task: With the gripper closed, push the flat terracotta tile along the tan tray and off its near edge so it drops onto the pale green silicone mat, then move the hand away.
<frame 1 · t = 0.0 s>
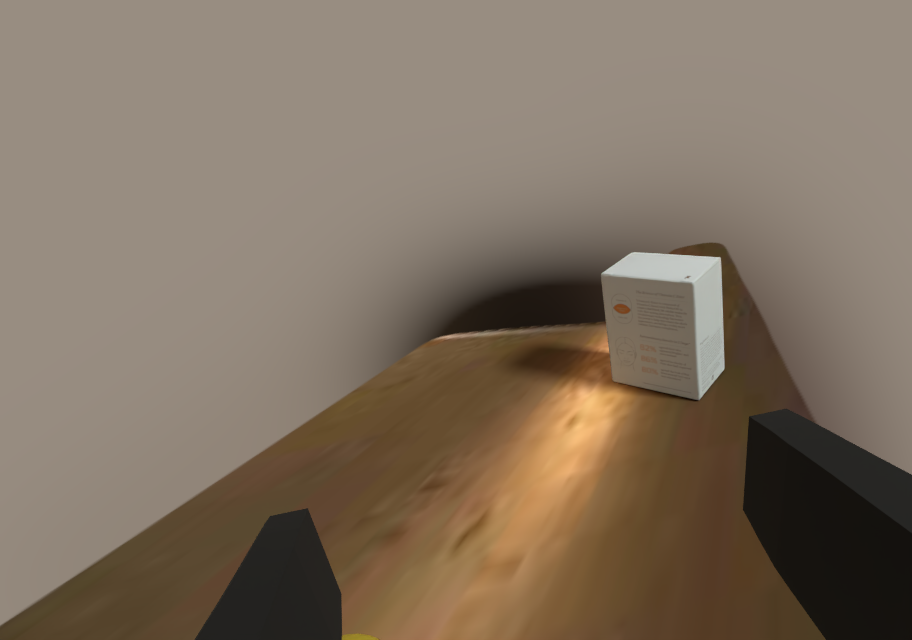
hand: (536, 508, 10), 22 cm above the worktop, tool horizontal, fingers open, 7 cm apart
small box: (667, 378, 54), on the worktop
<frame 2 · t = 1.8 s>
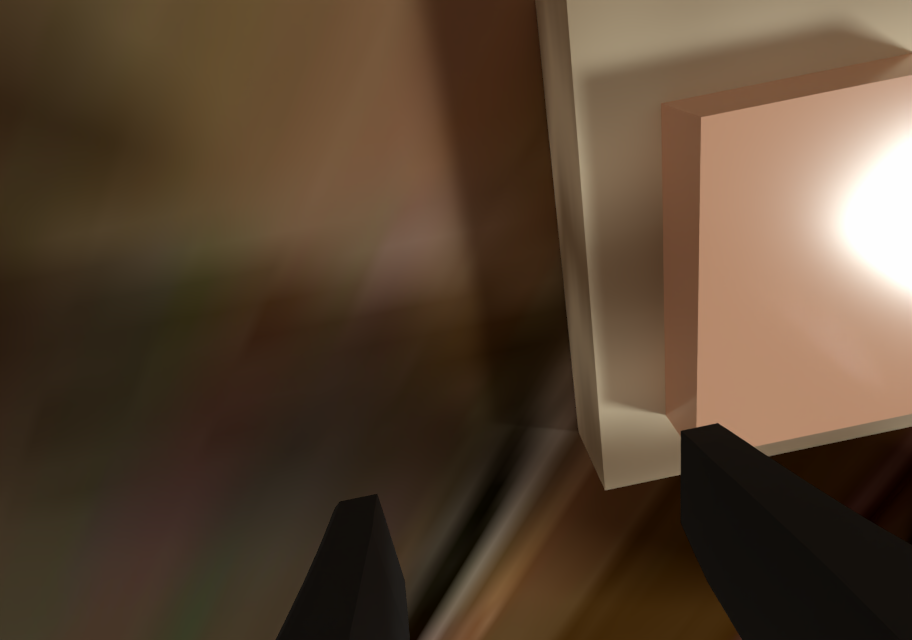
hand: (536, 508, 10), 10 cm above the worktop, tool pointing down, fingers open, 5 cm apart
tile: (774, 256, 16), point 3 cm above the worktop, touching tan tray
tan tray: (750, 215, 19), on the worktop
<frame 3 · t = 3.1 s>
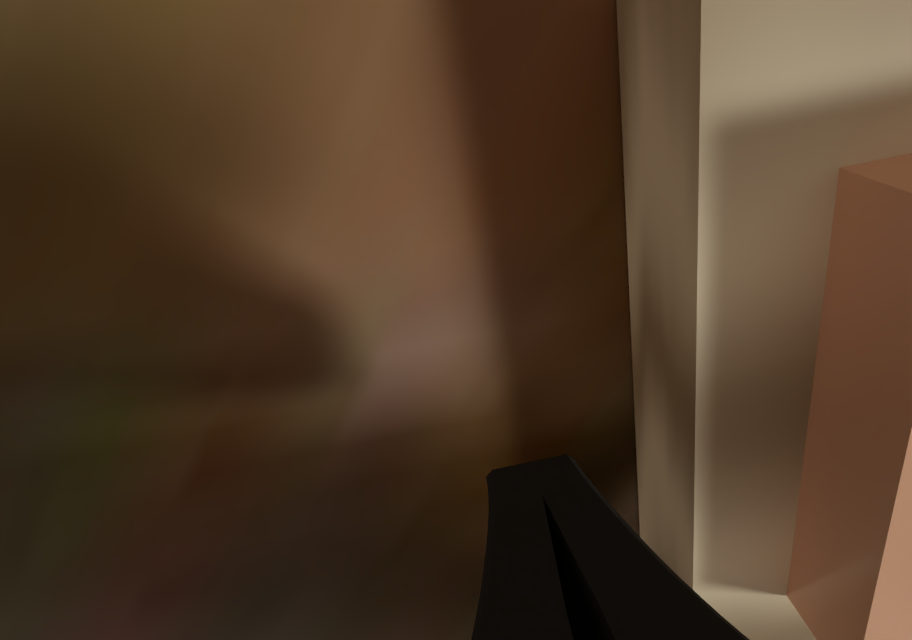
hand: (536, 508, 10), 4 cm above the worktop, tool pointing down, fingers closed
tan tray: (901, 303, 13), on the worktop
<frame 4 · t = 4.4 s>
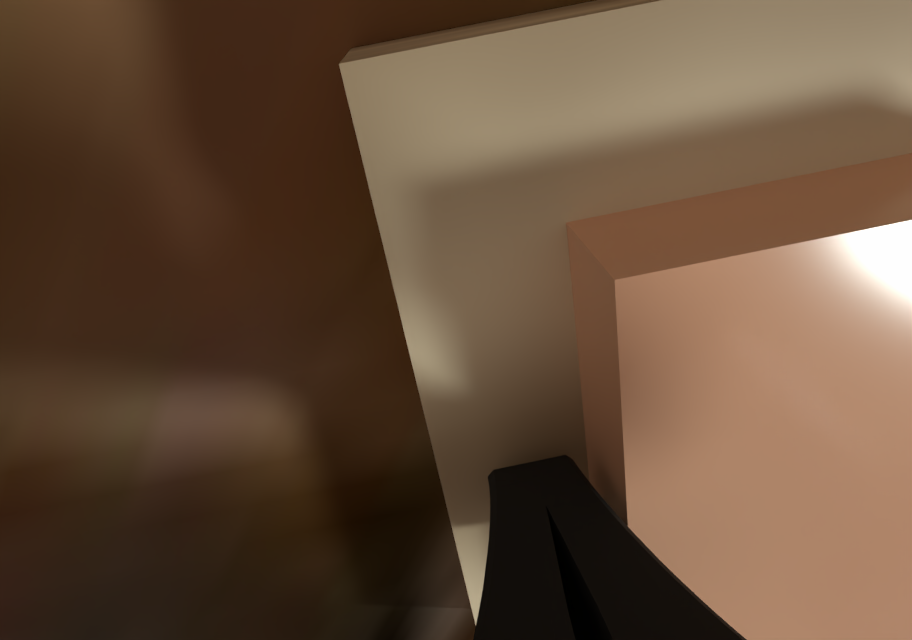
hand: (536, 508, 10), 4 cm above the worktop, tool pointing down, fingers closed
tile: (758, 434, 10), point 3 cm above the worktop, touching tan tray, gripper
tan tray: (705, 343, 13), on the worktop
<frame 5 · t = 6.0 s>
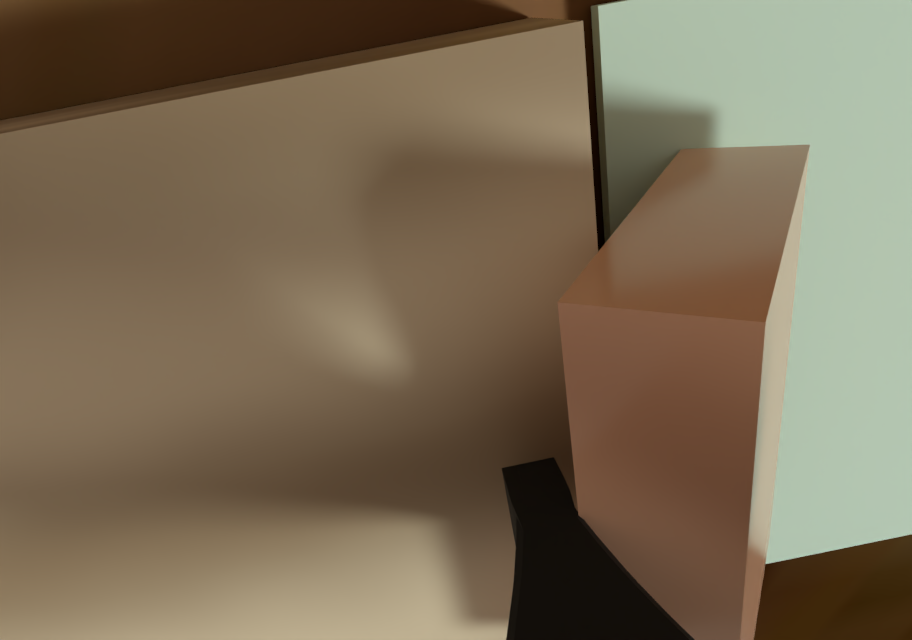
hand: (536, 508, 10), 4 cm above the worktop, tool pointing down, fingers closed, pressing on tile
tile: (642, 450, 11), point 3 cm above the worktop, tilted 54°, touching gripper, mat
tan tray: (295, 426, 13), on the worktop
mat: (835, 317, 13), on the worktop
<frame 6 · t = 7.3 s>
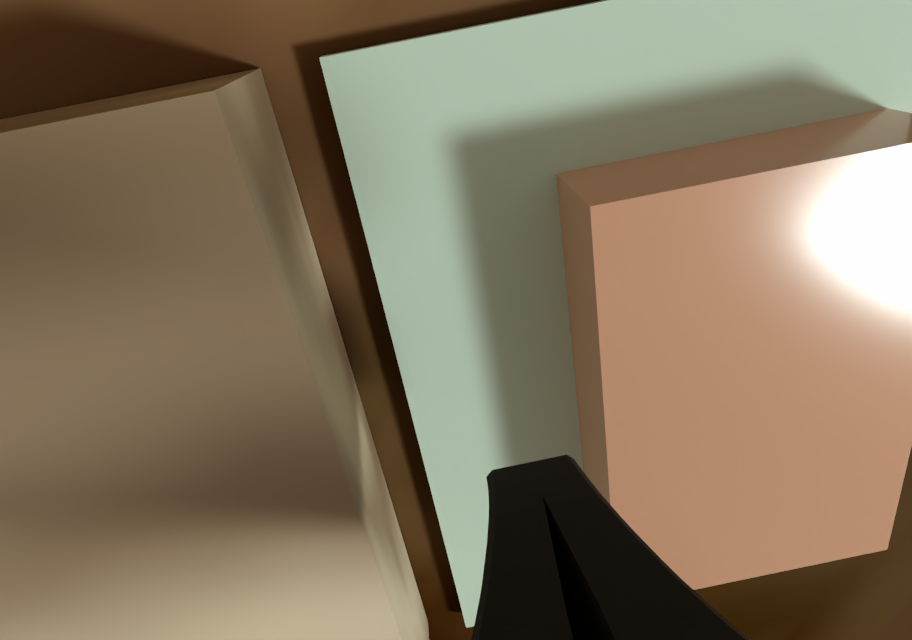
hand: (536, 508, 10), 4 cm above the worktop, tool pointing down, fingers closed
tile: (767, 411, 11), point 2 cm above the worktop, tilted 180°, touching mat
tan tray: (89, 470, 13), on the worktop
mat: (637, 357, 13), on the worktop
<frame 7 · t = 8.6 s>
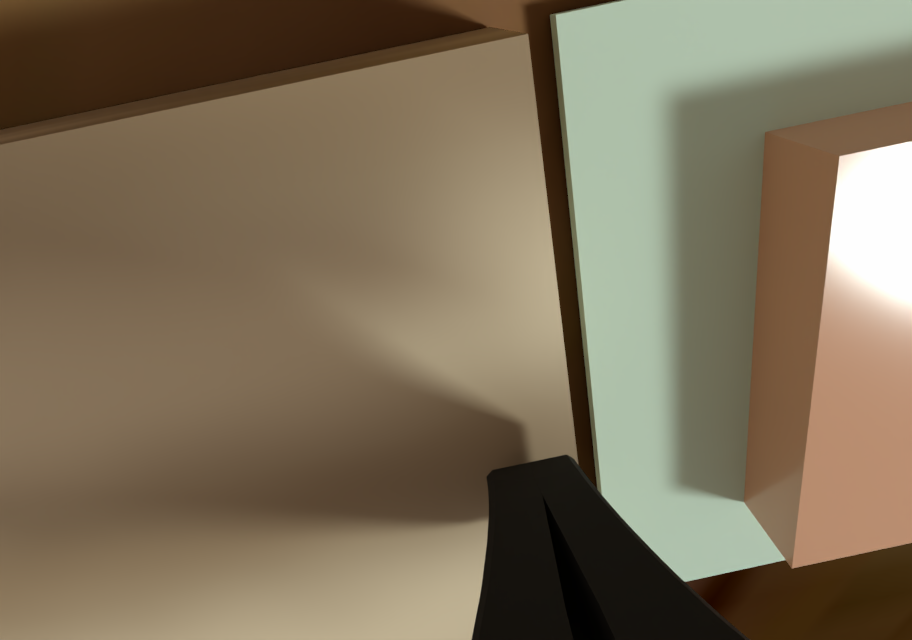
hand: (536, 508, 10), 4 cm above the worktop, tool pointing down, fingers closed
tan tray: (268, 437, 13), on the worktop
mat: (810, 321, 13), on the worktop
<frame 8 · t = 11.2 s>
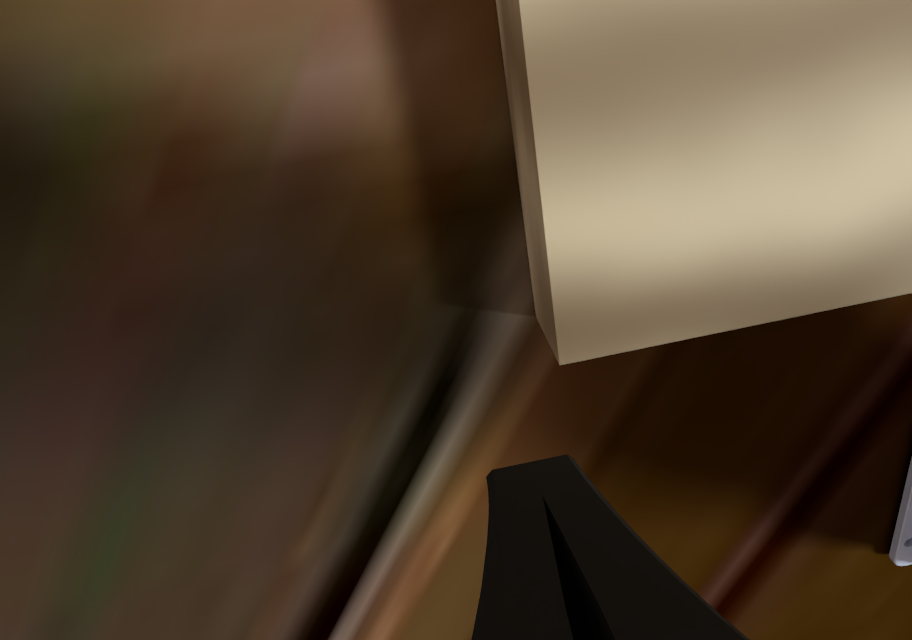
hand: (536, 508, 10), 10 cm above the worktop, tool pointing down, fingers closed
tan tray: (724, 47, 16), on the worktop
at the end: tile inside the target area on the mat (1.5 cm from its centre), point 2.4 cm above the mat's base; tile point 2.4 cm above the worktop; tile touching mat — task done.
